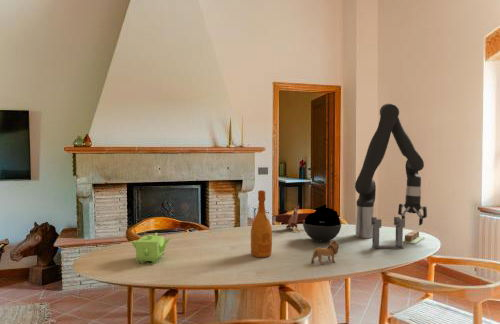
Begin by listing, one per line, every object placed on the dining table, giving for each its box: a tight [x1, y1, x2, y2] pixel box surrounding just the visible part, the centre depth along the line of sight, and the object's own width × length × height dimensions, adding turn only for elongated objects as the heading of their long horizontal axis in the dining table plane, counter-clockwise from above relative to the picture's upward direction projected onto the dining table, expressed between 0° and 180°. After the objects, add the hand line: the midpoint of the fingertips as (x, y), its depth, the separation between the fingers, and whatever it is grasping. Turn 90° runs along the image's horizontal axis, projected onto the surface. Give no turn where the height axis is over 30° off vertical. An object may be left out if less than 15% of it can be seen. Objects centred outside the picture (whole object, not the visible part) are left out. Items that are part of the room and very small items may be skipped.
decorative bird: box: [271, 203, 311, 233], centre depth 221 cm, size 28×18×15 cm, turn 111°
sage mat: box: [402, 235, 425, 245], centre depth 201 cm, size 17×8×1 cm, turn 140°
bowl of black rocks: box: [302, 204, 342, 243], centre depth 197 cm, size 20×20×19 cm
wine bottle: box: [250, 189, 273, 258], centre depth 171 cm, size 10×10×30 cm
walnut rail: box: [404, 230, 420, 242], centre depth 201 cm, size 15×3×3 cm, turn 140°
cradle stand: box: [371, 216, 406, 250], centre depth 184 cm, size 15×6×15 cm, turn 95°
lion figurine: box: [310, 239, 340, 265], centre depth 161 cm, size 15×5×9 cm, turn 119°
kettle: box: [130, 232, 173, 264], centre depth 162 cm, size 15×14×11 cm
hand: (411, 223), depth 202 cm, fingers open, 8 cm apart
